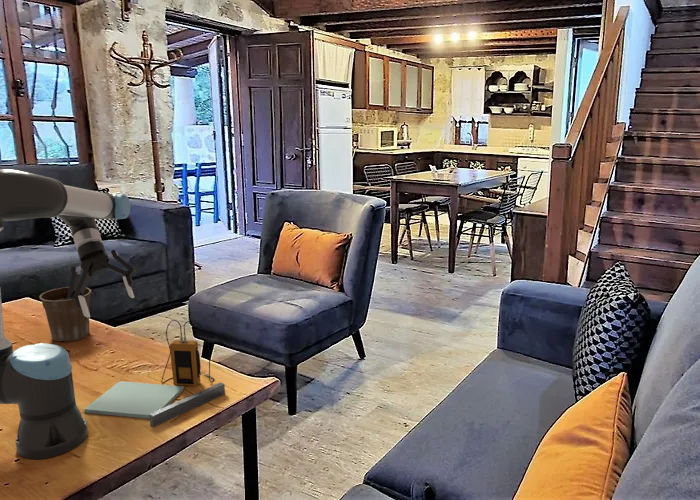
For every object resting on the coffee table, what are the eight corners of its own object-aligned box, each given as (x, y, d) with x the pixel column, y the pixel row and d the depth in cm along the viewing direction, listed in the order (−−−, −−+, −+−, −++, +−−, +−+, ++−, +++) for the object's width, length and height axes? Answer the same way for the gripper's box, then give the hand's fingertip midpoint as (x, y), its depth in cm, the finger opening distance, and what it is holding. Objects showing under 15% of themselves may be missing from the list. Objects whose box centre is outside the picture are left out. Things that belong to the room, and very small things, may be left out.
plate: (154, 419, 140) (154, 415, 140) (84, 412, 144) (84, 409, 143) (183, 389, 155) (183, 386, 155) (119, 384, 159) (119, 381, 159)
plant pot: (105, 333, 197) (100, 291, 194) (61, 348, 184) (55, 303, 181) (80, 324, 206) (75, 283, 203) (36, 338, 193) (30, 295, 190)
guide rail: (153, 427, 136) (152, 416, 136) (150, 424, 137) (149, 414, 137) (225, 393, 153) (224, 384, 152) (221, 392, 154) (220, 382, 153)
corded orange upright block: (221, 371, 166) (216, 309, 162) (209, 387, 157) (204, 321, 152) (174, 370, 168) (169, 308, 163) (160, 385, 158) (154, 320, 153)
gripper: (133, 235, 173) (154, 292, 166) (56, 267, 170) (74, 327, 162) (124, 225, 166) (145, 284, 159) (43, 258, 163) (61, 321, 155)
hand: (109, 306), depth 161 cm, fingers open, 13 cm apart
